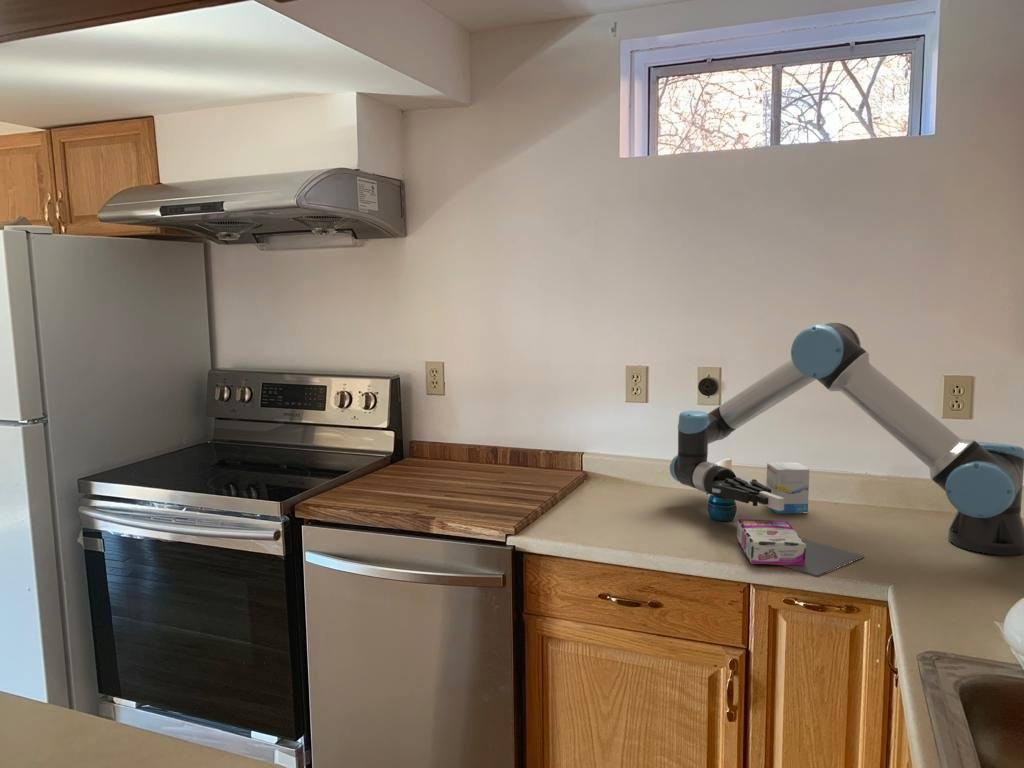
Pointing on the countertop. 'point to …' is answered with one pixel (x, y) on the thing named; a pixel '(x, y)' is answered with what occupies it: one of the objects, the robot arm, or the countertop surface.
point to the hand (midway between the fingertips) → (781, 504)
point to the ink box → (789, 485)
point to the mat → (822, 558)
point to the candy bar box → (771, 542)
